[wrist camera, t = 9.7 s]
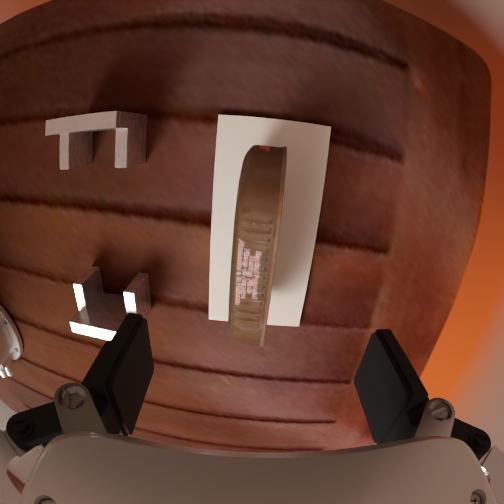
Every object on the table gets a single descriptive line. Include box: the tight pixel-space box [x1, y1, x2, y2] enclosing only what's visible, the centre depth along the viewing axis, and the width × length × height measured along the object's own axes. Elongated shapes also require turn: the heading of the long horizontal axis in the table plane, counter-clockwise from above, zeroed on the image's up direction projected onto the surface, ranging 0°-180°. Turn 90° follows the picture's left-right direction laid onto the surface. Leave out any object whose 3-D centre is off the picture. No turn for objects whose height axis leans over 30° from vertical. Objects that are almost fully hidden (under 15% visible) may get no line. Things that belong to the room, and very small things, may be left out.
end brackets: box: [45, 111, 152, 341], centre depth 22 cm, size 7×19×6 cm, turn 175°
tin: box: [228, 145, 287, 347], centre depth 21 cm, size 15×3×8 cm, turn 174°
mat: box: [209, 115, 331, 327], centre depth 25 cm, size 19×9×1 cm, turn 175°
